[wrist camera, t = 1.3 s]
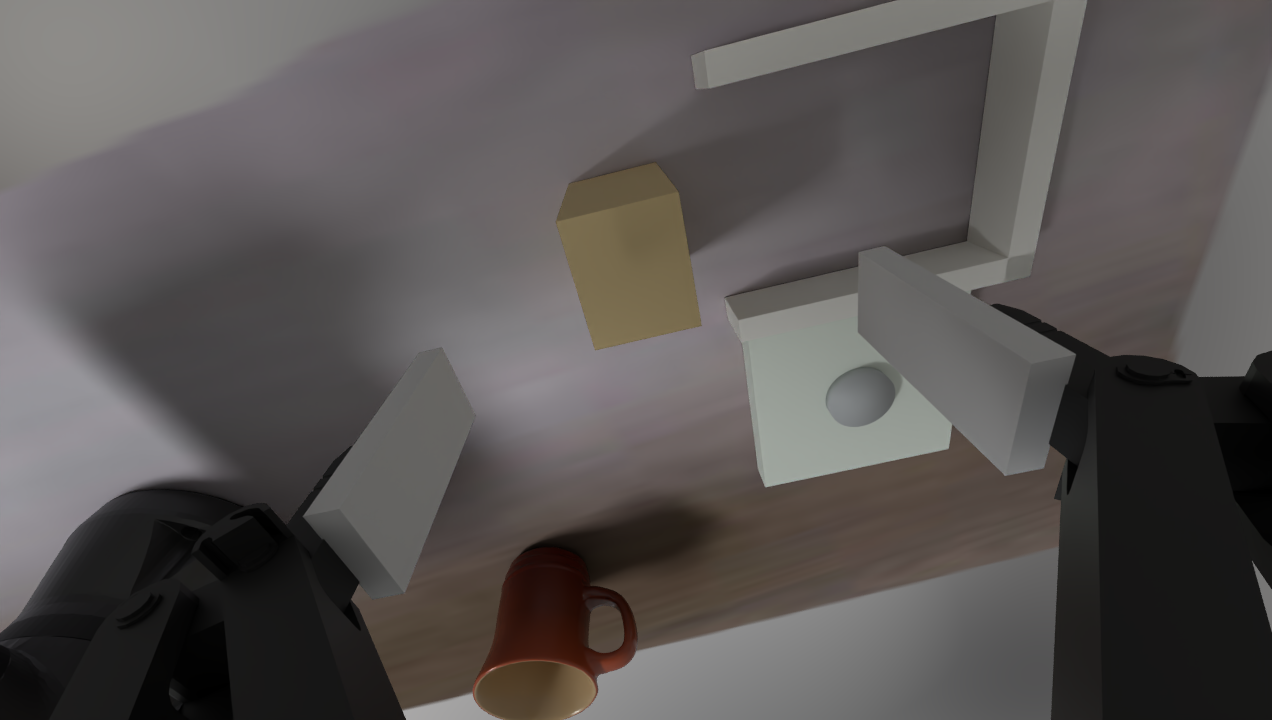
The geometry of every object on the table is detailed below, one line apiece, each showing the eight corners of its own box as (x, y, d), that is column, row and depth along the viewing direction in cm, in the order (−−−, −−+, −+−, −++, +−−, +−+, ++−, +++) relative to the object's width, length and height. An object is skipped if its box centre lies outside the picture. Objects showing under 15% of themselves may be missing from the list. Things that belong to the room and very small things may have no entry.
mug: (521, 606, 45) (501, 733, 36) (483, 547, 41) (450, 675, 32) (643, 578, 44) (653, 701, 35) (617, 515, 40) (622, 637, 31)
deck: (748, 471, 38) (761, 504, 35) (690, 55, 24) (704, 50, 21) (961, 426, 37) (992, 455, 34) (1032, -34, 23) (1098, -53, 20)
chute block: (596, 282, 30) (595, 350, 22) (568, 183, 27) (555, 222, 19) (674, 263, 29) (701, 325, 22) (655, 162, 26) (678, 191, 19)
